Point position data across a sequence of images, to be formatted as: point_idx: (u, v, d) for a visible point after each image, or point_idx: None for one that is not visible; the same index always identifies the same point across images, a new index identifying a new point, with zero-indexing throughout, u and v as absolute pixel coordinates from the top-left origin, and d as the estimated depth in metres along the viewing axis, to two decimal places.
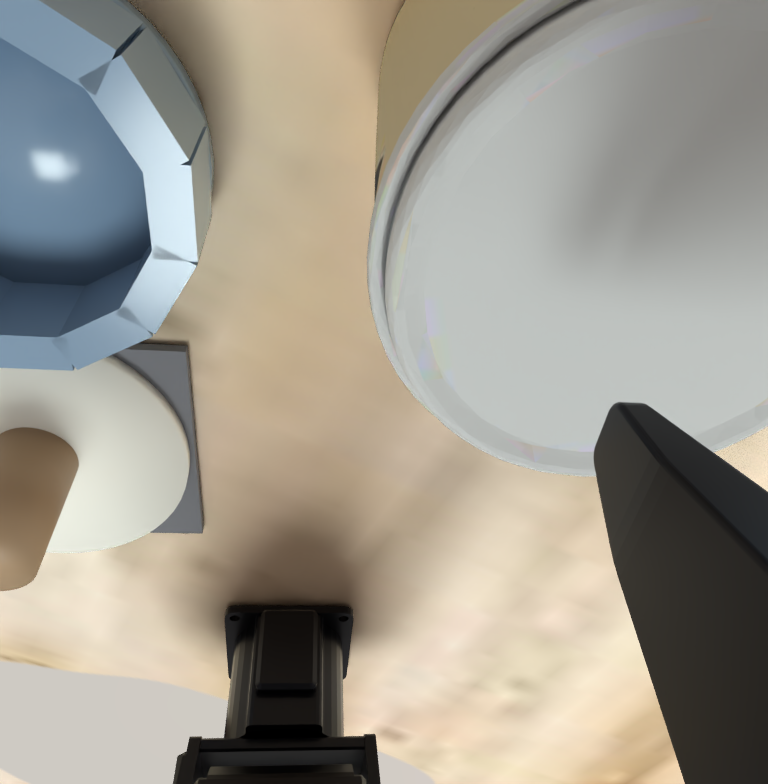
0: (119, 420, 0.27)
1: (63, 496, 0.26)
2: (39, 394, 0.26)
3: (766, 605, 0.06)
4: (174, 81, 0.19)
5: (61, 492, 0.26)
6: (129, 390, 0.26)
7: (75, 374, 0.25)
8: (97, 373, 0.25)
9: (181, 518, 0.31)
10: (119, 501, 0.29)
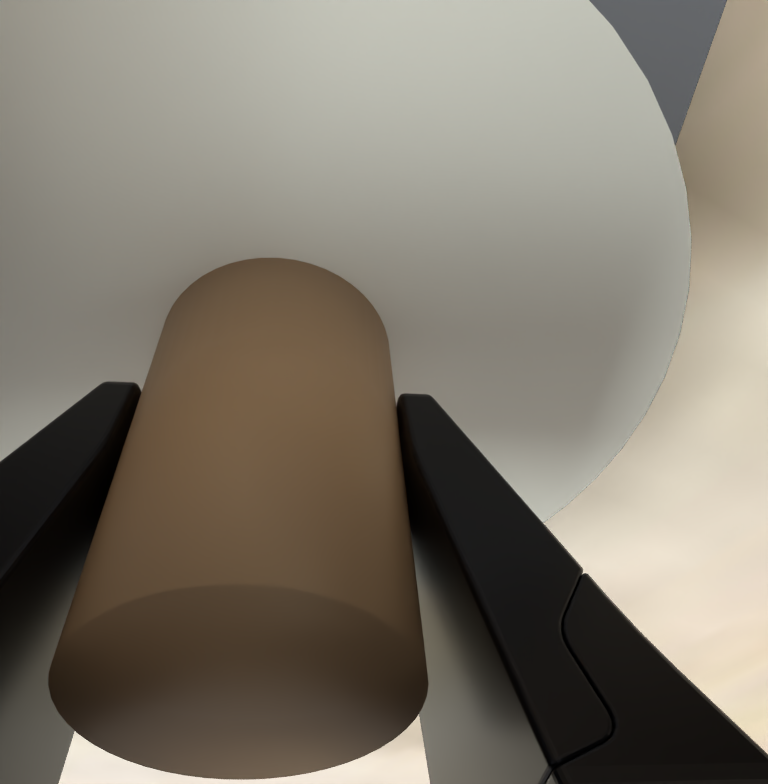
0: (84, 93, 0.08)
1: (268, 345, 0.07)
2: (27, 299, 0.09)
3: (462, 603, 0.06)
4: None
5: (243, 348, 0.07)
6: None
7: None
8: None
9: None
10: (476, 177, 0.09)
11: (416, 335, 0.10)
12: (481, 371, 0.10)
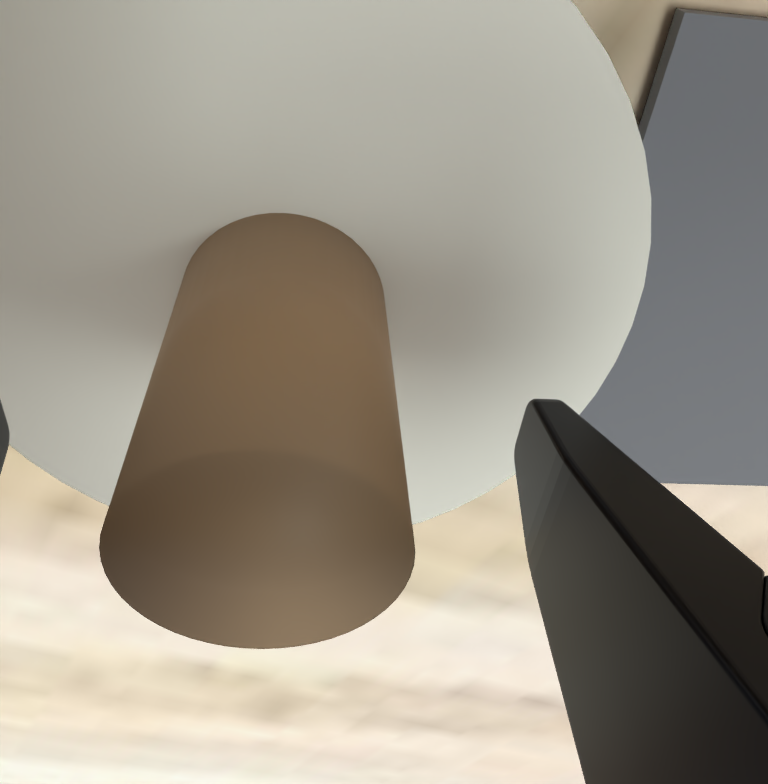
0: (119, 64, 0.09)
1: (279, 281, 0.09)
2: (63, 250, 0.10)
3: (648, 604, 0.06)
4: None
5: (258, 283, 0.09)
6: None
7: None
8: None
9: None
10: (460, 140, 0.10)
11: (408, 285, 0.11)
12: (467, 320, 0.12)
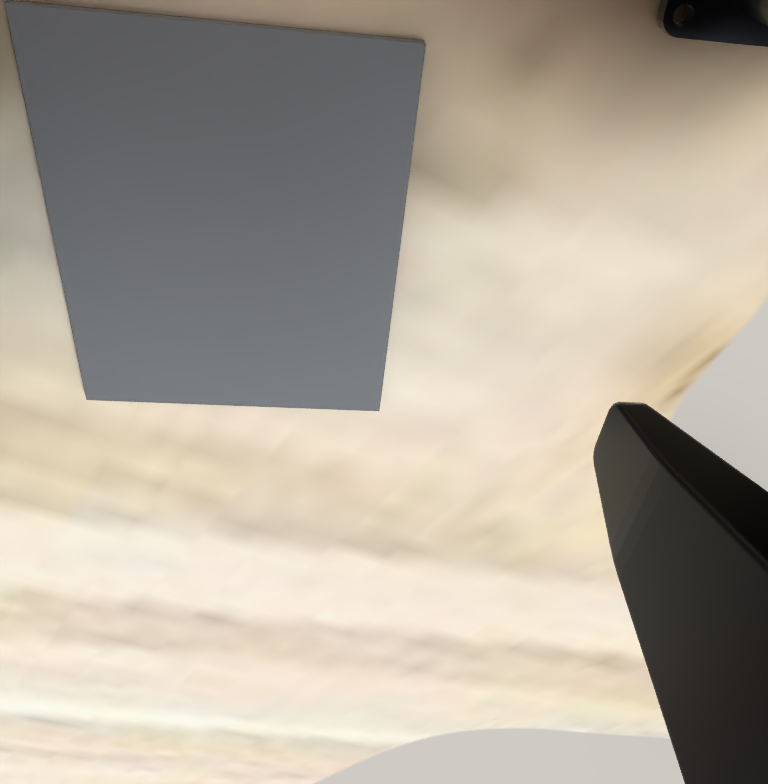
0: None
1: None
2: None
3: (766, 605, 0.06)
4: None
5: None
6: None
7: None
8: None
9: (383, 76, 0.18)
10: None
11: None
12: None
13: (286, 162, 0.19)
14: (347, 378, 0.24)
